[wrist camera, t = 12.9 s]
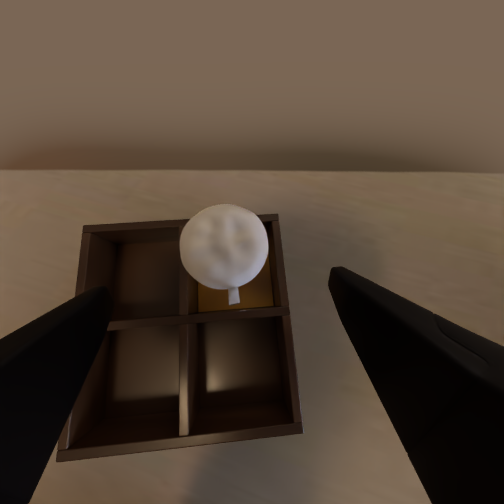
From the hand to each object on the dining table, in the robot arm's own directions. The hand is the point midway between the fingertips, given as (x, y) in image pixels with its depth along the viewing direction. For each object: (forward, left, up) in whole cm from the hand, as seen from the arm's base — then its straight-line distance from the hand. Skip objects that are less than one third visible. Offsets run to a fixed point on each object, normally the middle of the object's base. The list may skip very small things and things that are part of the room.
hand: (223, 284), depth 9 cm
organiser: (-3, +1, -11) cm, 11 cm away
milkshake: (+1, +1, -10) cm, 10 cm away
